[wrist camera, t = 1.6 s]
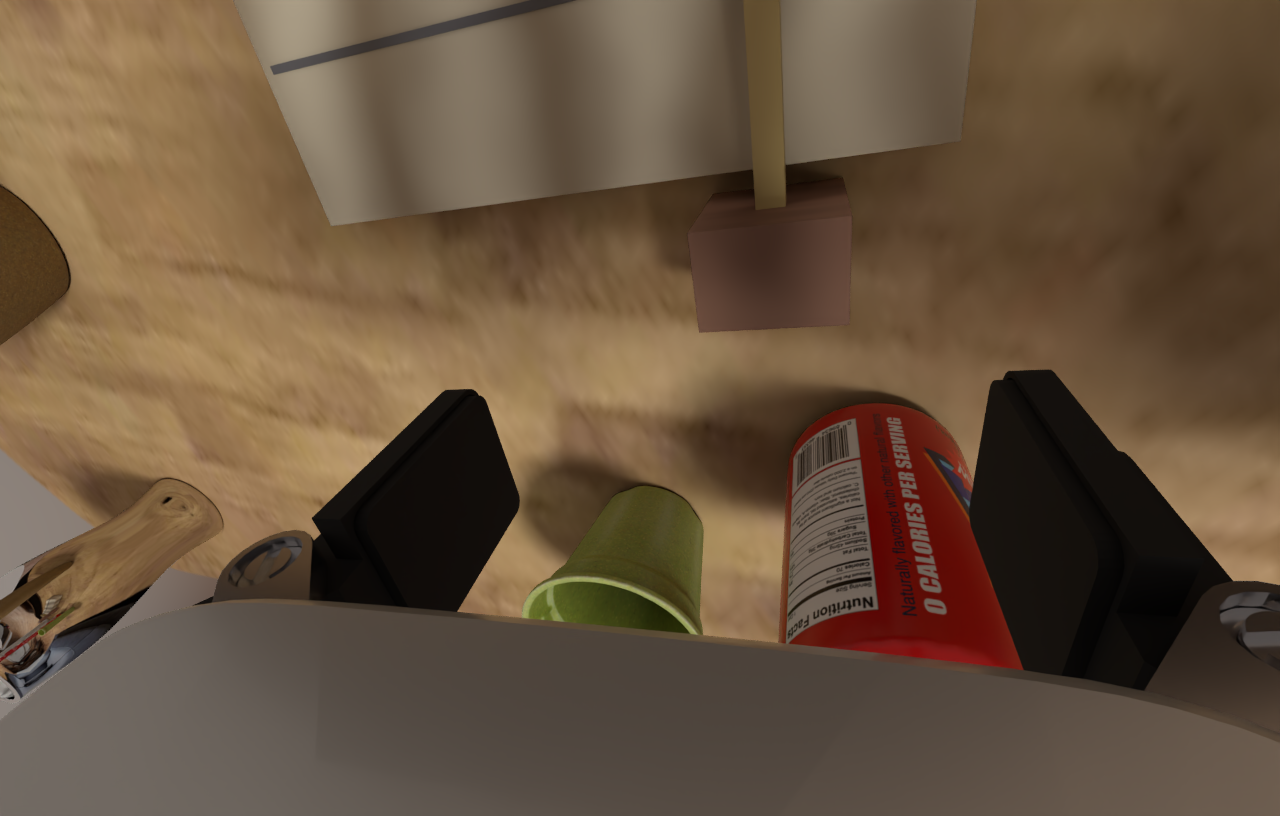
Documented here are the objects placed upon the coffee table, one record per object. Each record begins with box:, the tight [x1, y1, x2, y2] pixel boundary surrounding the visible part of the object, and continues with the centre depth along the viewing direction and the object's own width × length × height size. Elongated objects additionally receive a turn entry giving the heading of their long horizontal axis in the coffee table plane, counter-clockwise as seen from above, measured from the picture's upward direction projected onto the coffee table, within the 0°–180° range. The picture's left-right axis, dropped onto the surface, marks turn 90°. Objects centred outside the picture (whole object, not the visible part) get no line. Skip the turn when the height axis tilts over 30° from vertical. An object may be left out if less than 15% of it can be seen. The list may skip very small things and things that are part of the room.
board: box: [233, 0, 977, 226], centre depth 21 cm, size 26×9×2 cm, turn 100°
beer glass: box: [0, 479, 223, 703], centre depth 40 cm, size 7×7×15 cm
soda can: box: [778, 403, 1024, 670], centre depth 21 cm, size 8×8×15 cm
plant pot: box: [522, 486, 703, 635], centre depth 30 cm, size 9×9×9 cm
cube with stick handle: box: [687, 0, 852, 332], centre depth 19 cm, size 5×11×6 cm, turn 10°
